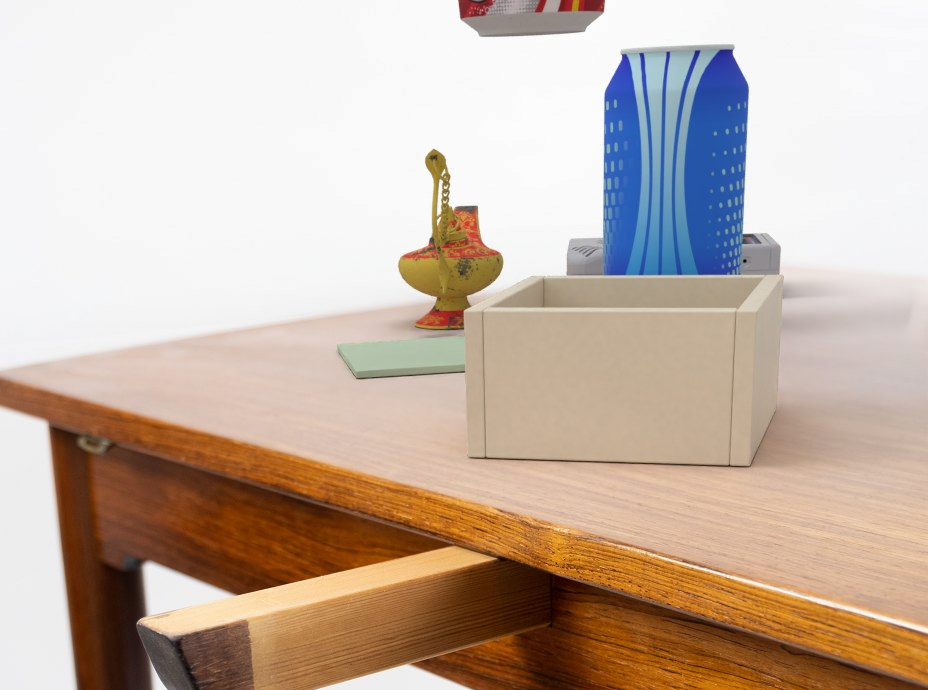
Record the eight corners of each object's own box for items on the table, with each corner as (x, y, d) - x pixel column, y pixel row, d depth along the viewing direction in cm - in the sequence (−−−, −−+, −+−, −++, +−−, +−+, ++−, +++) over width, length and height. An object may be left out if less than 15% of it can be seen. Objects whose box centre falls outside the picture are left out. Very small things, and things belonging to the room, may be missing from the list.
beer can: (728, 338, 89) (740, 42, 83) (588, 336, 92) (590, 49, 86) (747, 318, 97) (759, 44, 90) (617, 316, 99) (620, 51, 93)
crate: (531, 403, 73) (530, 275, 71) (776, 409, 70) (783, 274, 67) (466, 457, 63) (463, 309, 61) (750, 466, 60) (757, 310, 57)
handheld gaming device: (569, 288, 115) (568, 235, 113) (767, 282, 113) (769, 229, 111) (565, 305, 106) (565, 249, 105) (778, 300, 105) (781, 242, 103)
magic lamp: (517, 301, 109) (515, 137, 104) (493, 339, 92) (490, 147, 88) (423, 303, 110) (417, 141, 105) (382, 341, 93) (374, 151, 89)
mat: (564, 336, 92) (564, 329, 92) (608, 362, 83) (608, 354, 83) (337, 350, 91) (336, 343, 91) (356, 378, 82) (356, 370, 81)
